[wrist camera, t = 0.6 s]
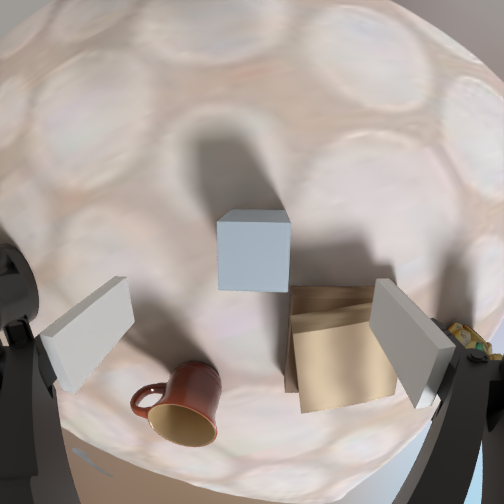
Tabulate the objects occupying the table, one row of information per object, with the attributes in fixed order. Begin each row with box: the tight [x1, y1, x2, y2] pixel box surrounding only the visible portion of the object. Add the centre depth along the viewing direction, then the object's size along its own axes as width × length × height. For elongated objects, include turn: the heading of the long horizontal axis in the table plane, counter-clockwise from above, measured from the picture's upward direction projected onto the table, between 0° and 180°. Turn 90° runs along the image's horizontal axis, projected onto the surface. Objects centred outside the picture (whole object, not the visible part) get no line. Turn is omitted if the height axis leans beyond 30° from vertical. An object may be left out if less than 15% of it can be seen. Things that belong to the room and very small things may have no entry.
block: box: [217, 209, 291, 292], centre depth 28 cm, size 6×6×9 cm
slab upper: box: [290, 302, 398, 414], centre depth 30 cm, size 12×12×4 cm
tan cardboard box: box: [284, 286, 375, 393], centre depth 34 cm, size 14×14×4 cm
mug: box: [130, 361, 222, 447], centre depth 33 cm, size 12×9×10 cm
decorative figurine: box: [448, 322, 503, 360], centre depth 27 cm, size 10×8×15 cm
